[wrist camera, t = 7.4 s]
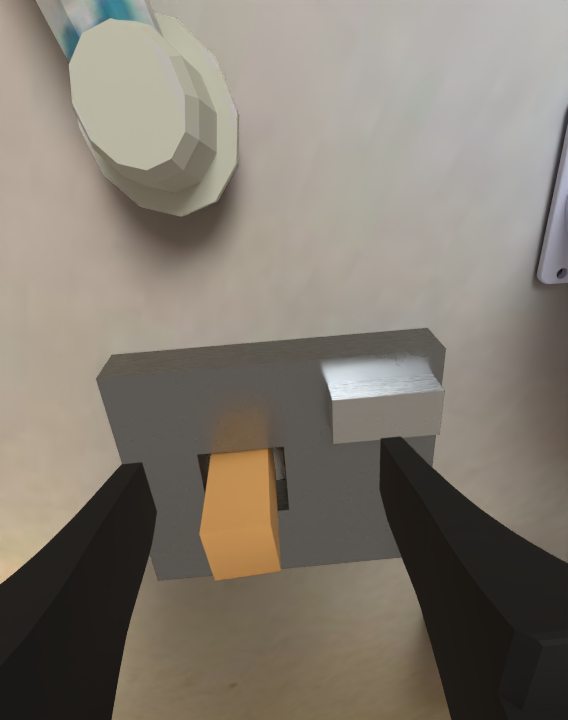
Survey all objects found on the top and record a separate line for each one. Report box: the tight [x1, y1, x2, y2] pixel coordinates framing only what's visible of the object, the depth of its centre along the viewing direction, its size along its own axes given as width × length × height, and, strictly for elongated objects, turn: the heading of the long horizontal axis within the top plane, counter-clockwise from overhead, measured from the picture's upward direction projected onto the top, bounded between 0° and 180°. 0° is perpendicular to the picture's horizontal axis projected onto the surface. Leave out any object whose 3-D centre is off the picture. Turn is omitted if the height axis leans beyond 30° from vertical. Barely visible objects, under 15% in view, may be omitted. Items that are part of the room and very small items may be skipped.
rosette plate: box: [96, 328, 446, 581], centre depth 23 cm, size 16×14×4 cm
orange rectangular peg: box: [199, 448, 281, 581], centre depth 22 cm, size 3×3×7 cm
